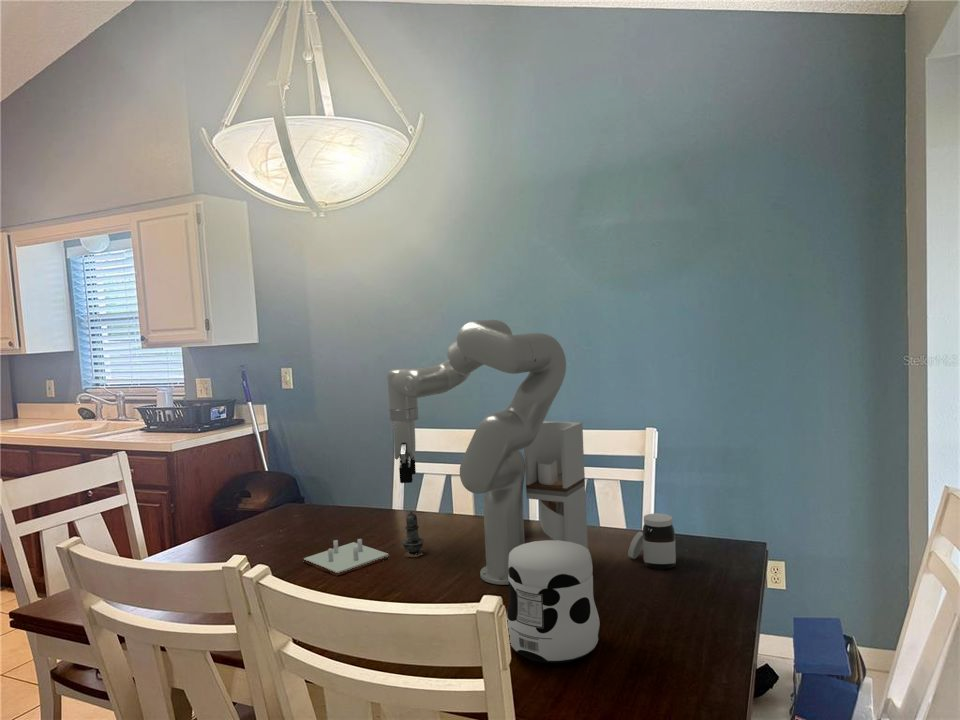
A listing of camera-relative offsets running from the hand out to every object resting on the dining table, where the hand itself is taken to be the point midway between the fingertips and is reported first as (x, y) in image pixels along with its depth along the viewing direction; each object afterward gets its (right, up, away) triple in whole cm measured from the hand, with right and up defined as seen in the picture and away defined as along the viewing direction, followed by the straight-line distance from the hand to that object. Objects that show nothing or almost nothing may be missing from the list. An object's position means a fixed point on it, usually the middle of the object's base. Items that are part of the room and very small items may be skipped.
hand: (408, 478), depth 180 cm
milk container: (+33, -22, -54) cm, 67 cm away
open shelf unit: (+39, -20, -13) cm, 45 cm away
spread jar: (+62, -19, -14) cm, 66 cm away
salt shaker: (+1, -21, 0) cm, 21 cm away
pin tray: (-16, -21, -2) cm, 27 cm away
